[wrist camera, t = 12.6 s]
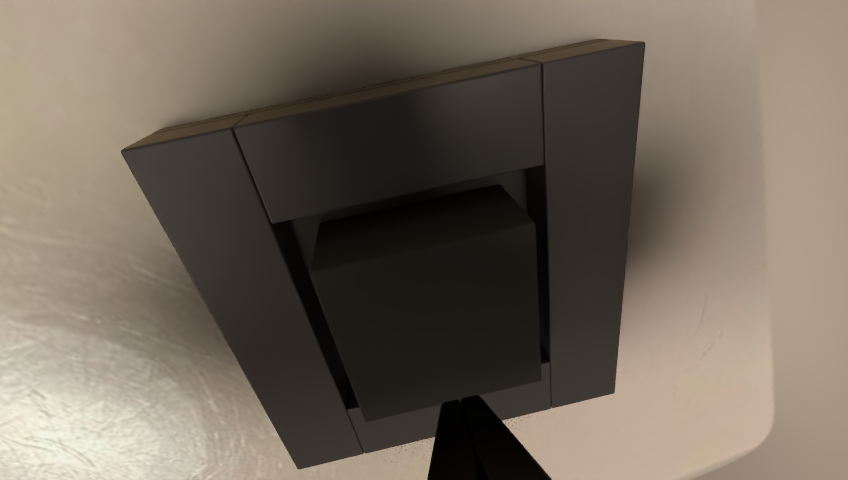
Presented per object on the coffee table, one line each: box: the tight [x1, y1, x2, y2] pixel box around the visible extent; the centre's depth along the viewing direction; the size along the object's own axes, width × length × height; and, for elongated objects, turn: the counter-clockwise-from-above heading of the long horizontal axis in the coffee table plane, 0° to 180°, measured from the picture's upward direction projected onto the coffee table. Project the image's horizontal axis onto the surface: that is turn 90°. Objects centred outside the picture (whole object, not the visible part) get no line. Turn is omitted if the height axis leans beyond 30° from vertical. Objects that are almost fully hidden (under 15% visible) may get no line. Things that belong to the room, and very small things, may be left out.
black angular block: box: [309, 185, 542, 422], centre depth 12 cm, size 6×6×3 cm
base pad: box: [121, 39, 645, 469], centre depth 13 cm, size 12×12×2 cm
